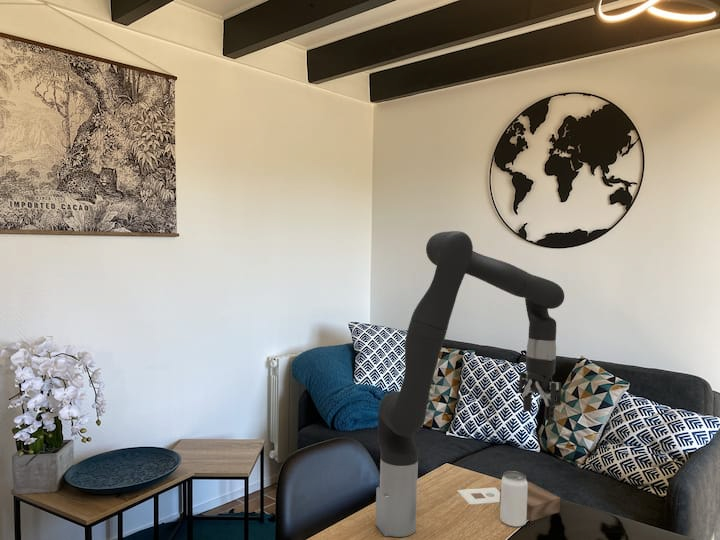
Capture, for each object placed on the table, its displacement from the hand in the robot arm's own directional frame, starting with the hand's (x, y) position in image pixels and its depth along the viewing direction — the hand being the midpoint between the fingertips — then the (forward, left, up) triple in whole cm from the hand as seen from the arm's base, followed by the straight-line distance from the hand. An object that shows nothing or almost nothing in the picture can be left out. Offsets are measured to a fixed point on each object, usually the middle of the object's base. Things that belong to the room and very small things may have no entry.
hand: (537, 415), depth 147 cm
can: (-10, -5, -26) cm, 28 cm away
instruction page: (-9, +10, -25) cm, 29 cm away
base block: (-1, 0, -25) cm, 25 cm away
